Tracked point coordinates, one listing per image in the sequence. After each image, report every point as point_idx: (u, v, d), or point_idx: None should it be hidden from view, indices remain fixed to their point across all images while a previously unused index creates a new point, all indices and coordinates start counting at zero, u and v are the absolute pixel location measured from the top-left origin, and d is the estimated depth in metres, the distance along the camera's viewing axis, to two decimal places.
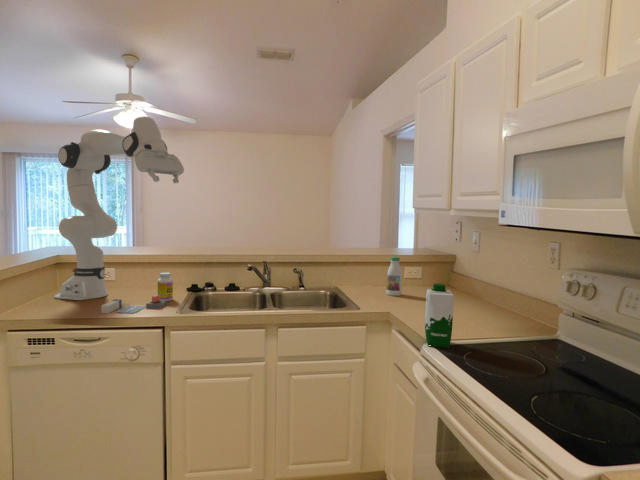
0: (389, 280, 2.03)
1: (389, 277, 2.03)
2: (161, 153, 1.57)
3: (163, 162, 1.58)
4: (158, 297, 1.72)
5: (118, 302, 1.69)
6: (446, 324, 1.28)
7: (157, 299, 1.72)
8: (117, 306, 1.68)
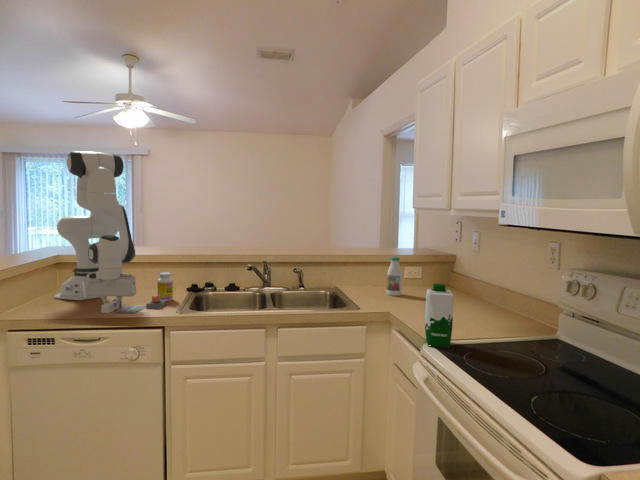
0: (389, 280, 2.03)
1: (389, 277, 2.03)
2: (106, 281, 1.62)
3: (109, 288, 1.64)
4: (158, 297, 1.72)
5: None
6: (446, 324, 1.28)
7: (157, 299, 1.72)
8: (117, 306, 1.68)
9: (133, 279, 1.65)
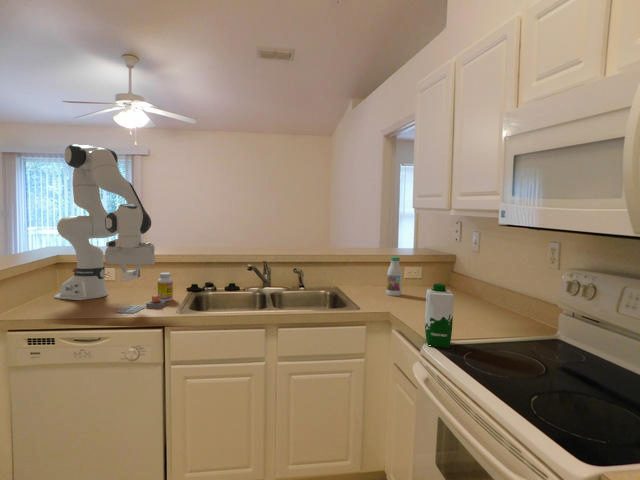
0: (389, 280, 2.03)
1: (389, 277, 2.03)
2: (125, 249, 1.62)
3: (128, 256, 1.63)
4: (158, 297, 1.72)
5: None
6: (446, 324, 1.28)
7: (157, 299, 1.72)
8: (136, 275, 1.67)
9: (152, 247, 1.64)
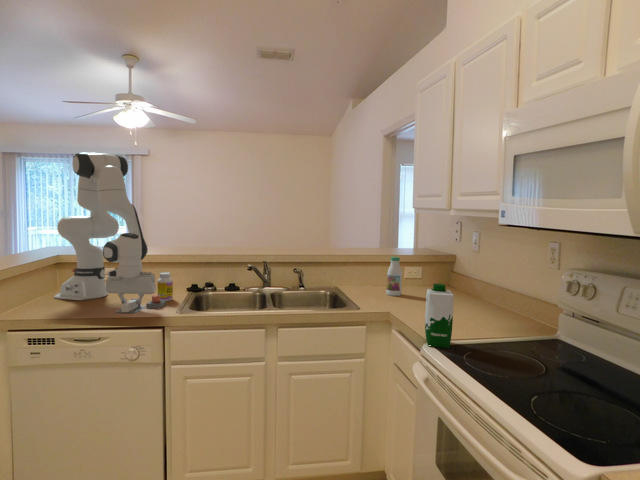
0: (389, 280, 2.03)
1: (389, 277, 2.03)
2: (126, 278, 1.63)
3: (129, 286, 1.65)
4: (158, 297, 1.72)
5: None
6: (446, 324, 1.28)
7: (157, 299, 1.72)
8: (136, 305, 1.69)
9: (153, 277, 1.65)
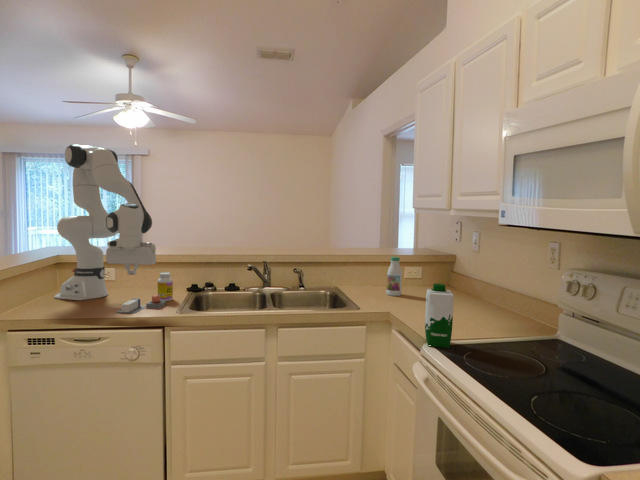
0: (389, 280, 2.03)
1: (389, 277, 2.03)
2: (126, 249, 1.62)
3: (129, 256, 1.64)
4: (158, 297, 1.72)
5: (137, 301, 1.69)
6: (446, 324, 1.28)
7: (157, 299, 1.72)
8: (136, 305, 1.69)
9: (153, 247, 1.64)
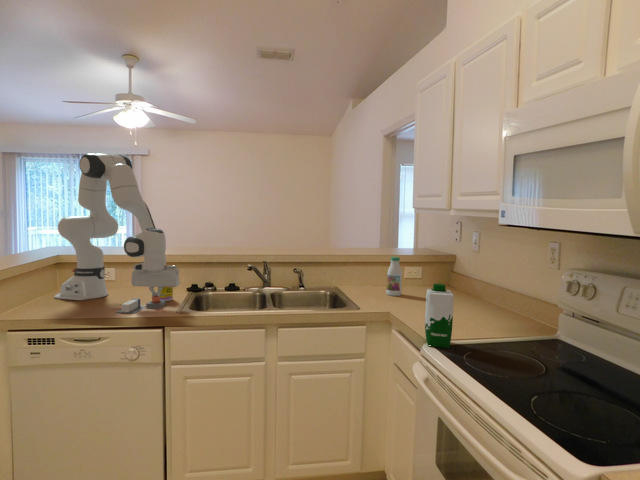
0: (389, 280, 2.03)
1: (389, 277, 2.03)
2: (151, 272, 1.68)
3: (154, 279, 1.70)
4: (158, 297, 1.72)
5: (137, 301, 1.69)
6: (446, 324, 1.28)
7: (157, 300, 1.72)
8: (136, 305, 1.69)
9: (177, 270, 1.71)
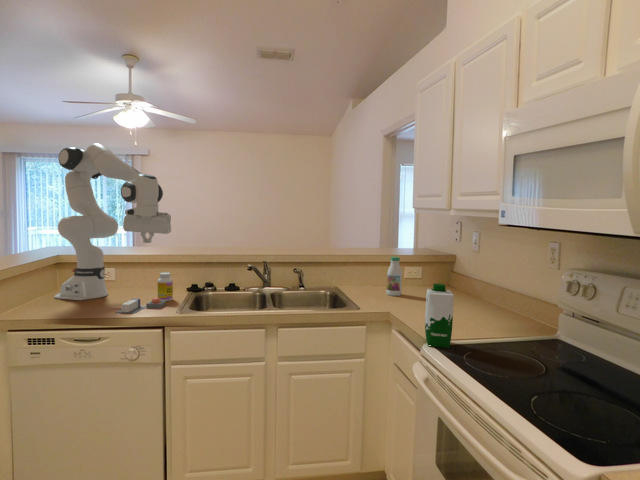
0: (389, 280, 2.03)
1: (389, 277, 2.03)
2: (143, 217, 1.69)
3: (146, 225, 1.71)
4: (158, 300, 1.72)
5: (137, 301, 1.69)
6: (446, 324, 1.28)
7: (157, 302, 1.72)
8: (136, 305, 1.69)
9: (169, 217, 1.72)
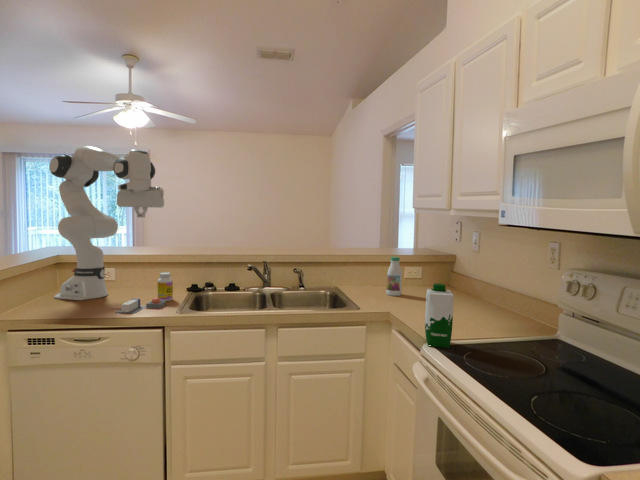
0: (389, 280, 2.03)
1: (389, 277, 2.03)
2: (136, 191, 1.72)
3: (139, 199, 1.73)
4: (158, 300, 1.72)
5: (137, 301, 1.69)
6: (446, 324, 1.28)
7: (157, 302, 1.72)
8: (136, 305, 1.69)
9: (161, 191, 1.74)
